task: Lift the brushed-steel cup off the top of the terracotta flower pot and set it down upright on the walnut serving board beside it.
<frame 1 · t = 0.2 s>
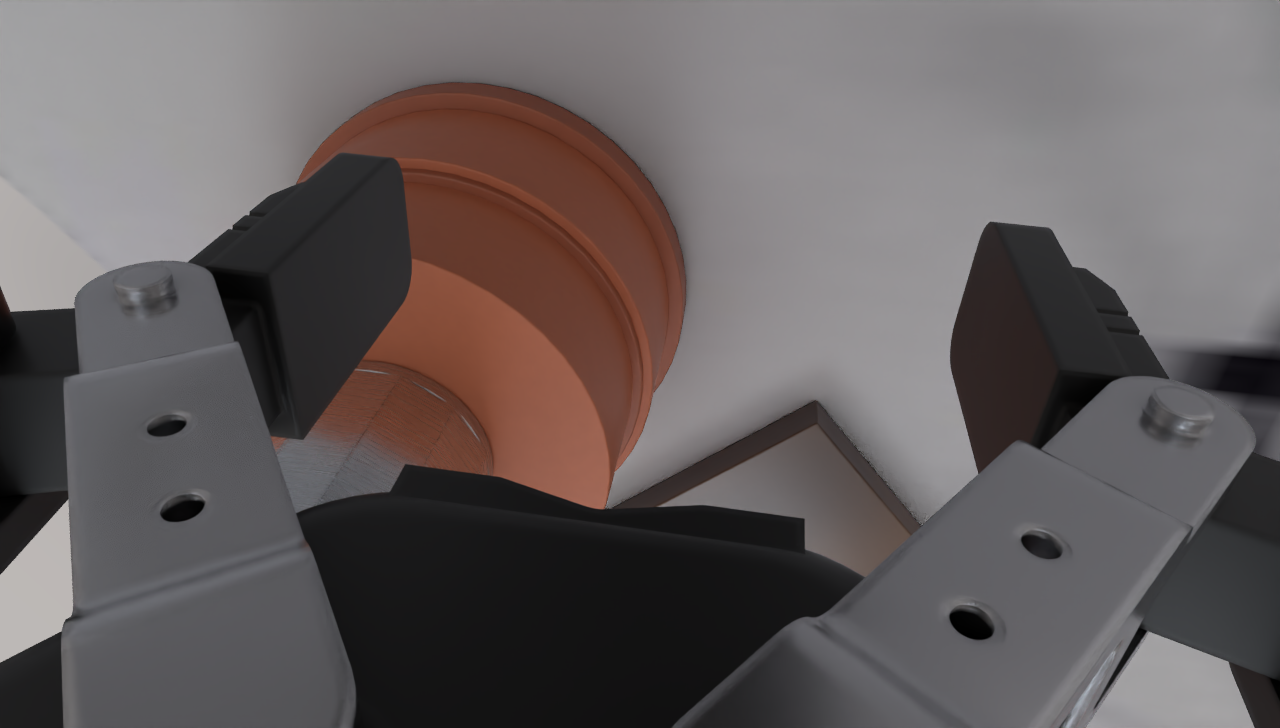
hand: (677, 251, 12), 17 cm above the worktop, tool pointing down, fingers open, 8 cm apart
board: (799, 618, 41), on the worktop
terracotta flower pot: (490, 280, 33), on the worktop
steel cup: (390, 448, 25), point 10 cm above the worktop, touching terracotta flower pot
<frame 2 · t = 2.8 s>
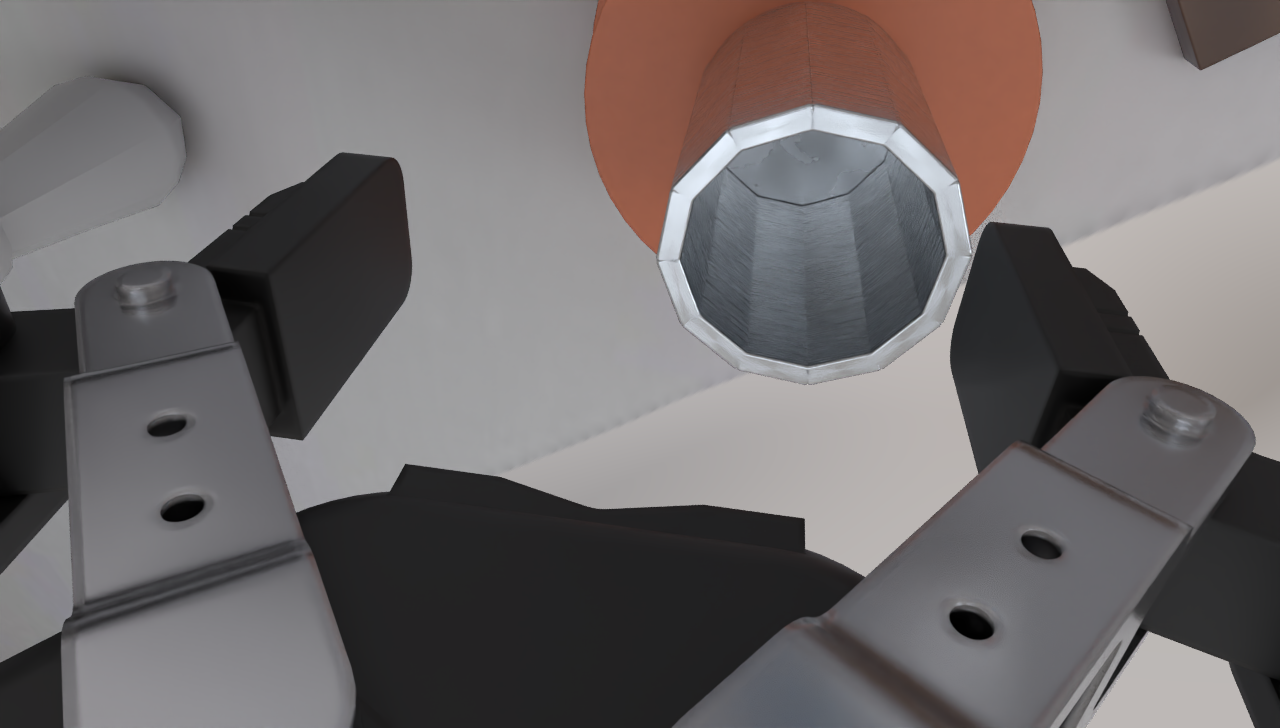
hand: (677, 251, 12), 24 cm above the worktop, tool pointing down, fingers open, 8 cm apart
terracotta flower pot: (799, 27, 33), on the worktop
steel cup: (803, 113, 25), point 10 cm above the worktop, touching terracotta flower pot
salt shaker: (145, 126, 40), on the worktop
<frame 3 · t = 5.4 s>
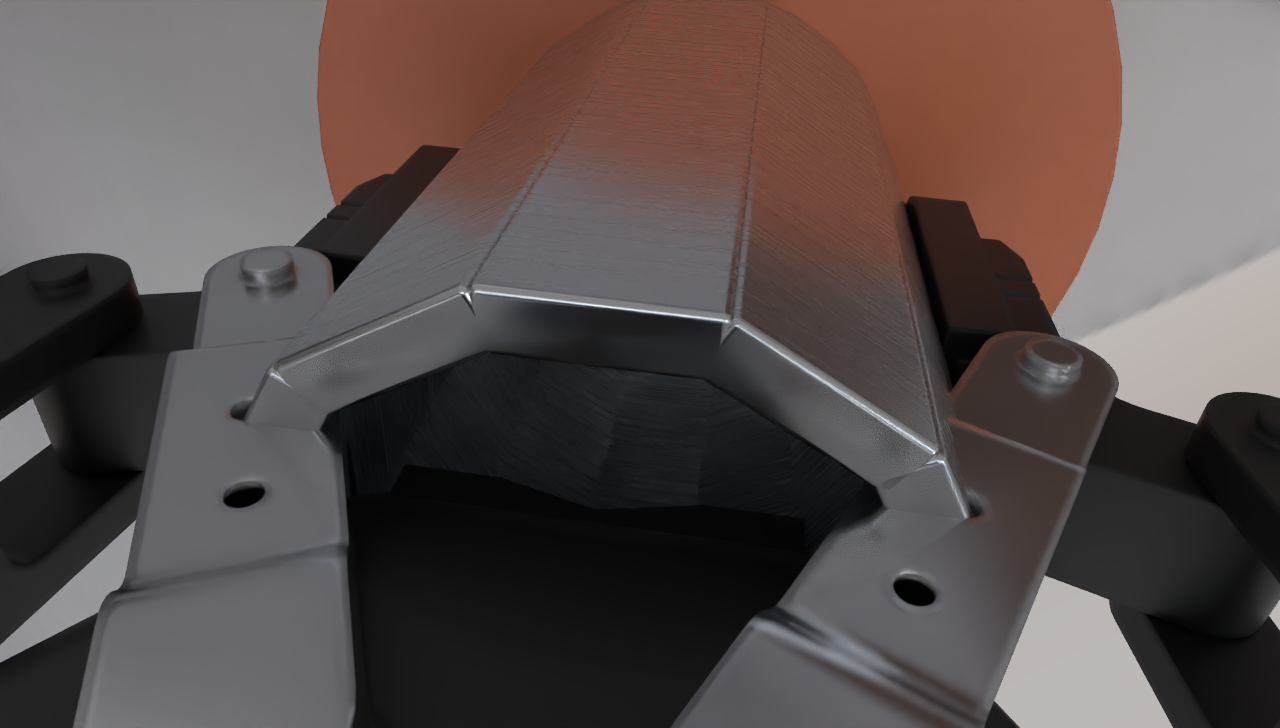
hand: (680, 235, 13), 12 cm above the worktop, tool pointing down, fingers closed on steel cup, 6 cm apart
terracotta flower pot: (730, 34, 22), on the worktop
steel cup: (694, 186, 14), point 10 cm above the worktop, touching terracotta flower pot, gripper
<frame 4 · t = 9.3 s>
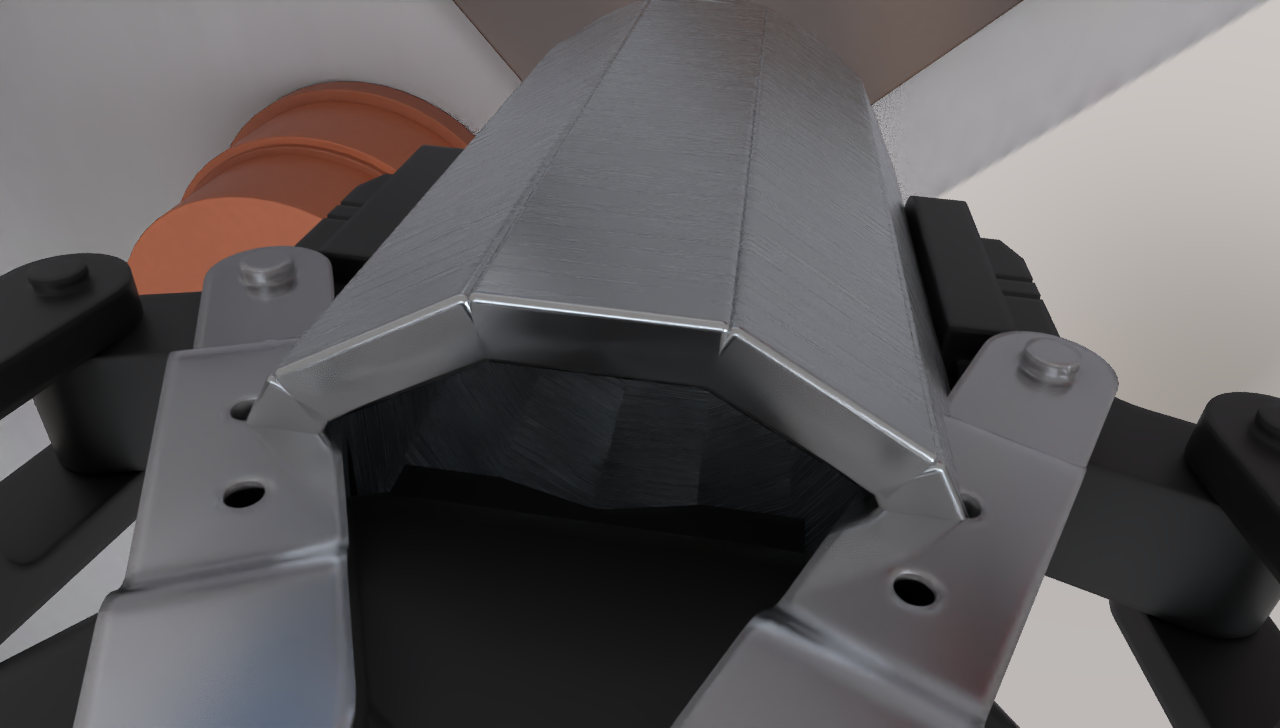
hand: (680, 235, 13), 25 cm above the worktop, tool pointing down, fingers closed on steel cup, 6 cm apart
terracotta flower pot: (380, 237, 42), on the worktop
steel cup: (693, 190, 14), point 23 cm above the worktop, touching gripper
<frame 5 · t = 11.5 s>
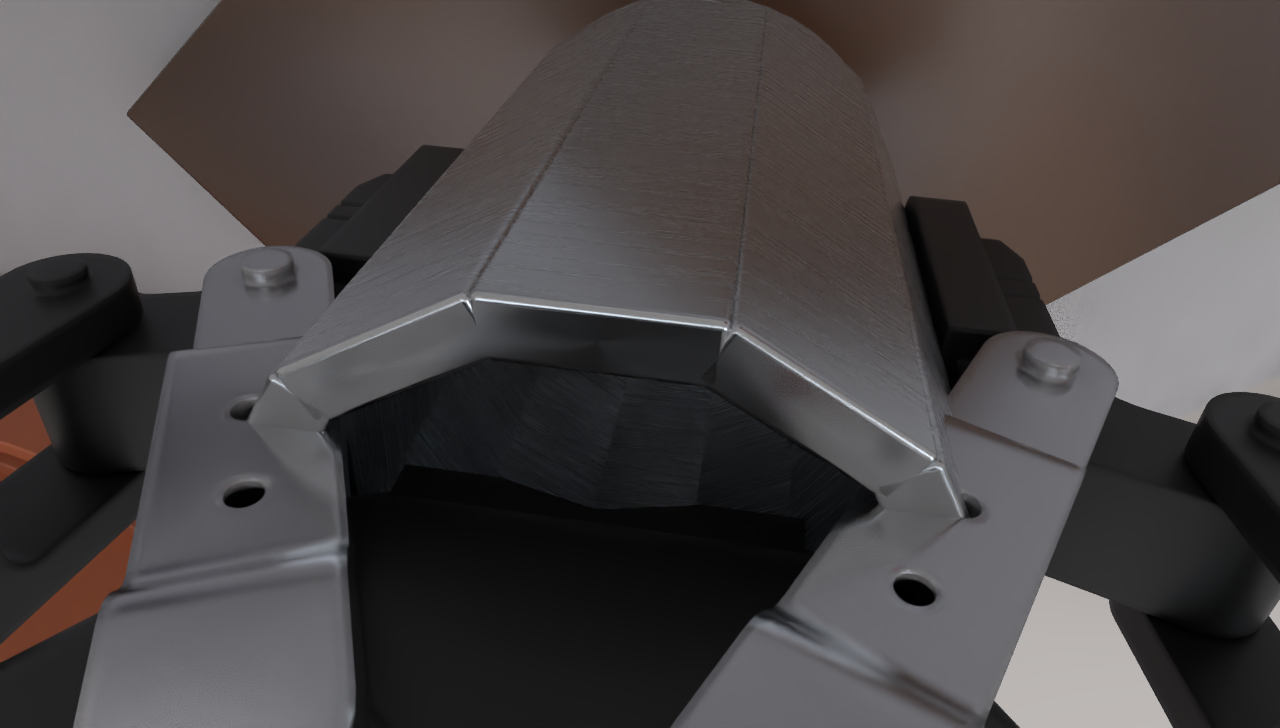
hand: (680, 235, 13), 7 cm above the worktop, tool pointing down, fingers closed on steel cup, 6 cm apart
board: (713, 89, 18), on the worktop
terracotta flower pot: (159, 489, 28), on the worktop
steel cup: (694, 189, 14), point 5 cm above the worktop, touching gripper
when the fingers open (3 cm above the worktop, at t = 13.1 s): steel cup stays where it is, resting on board.
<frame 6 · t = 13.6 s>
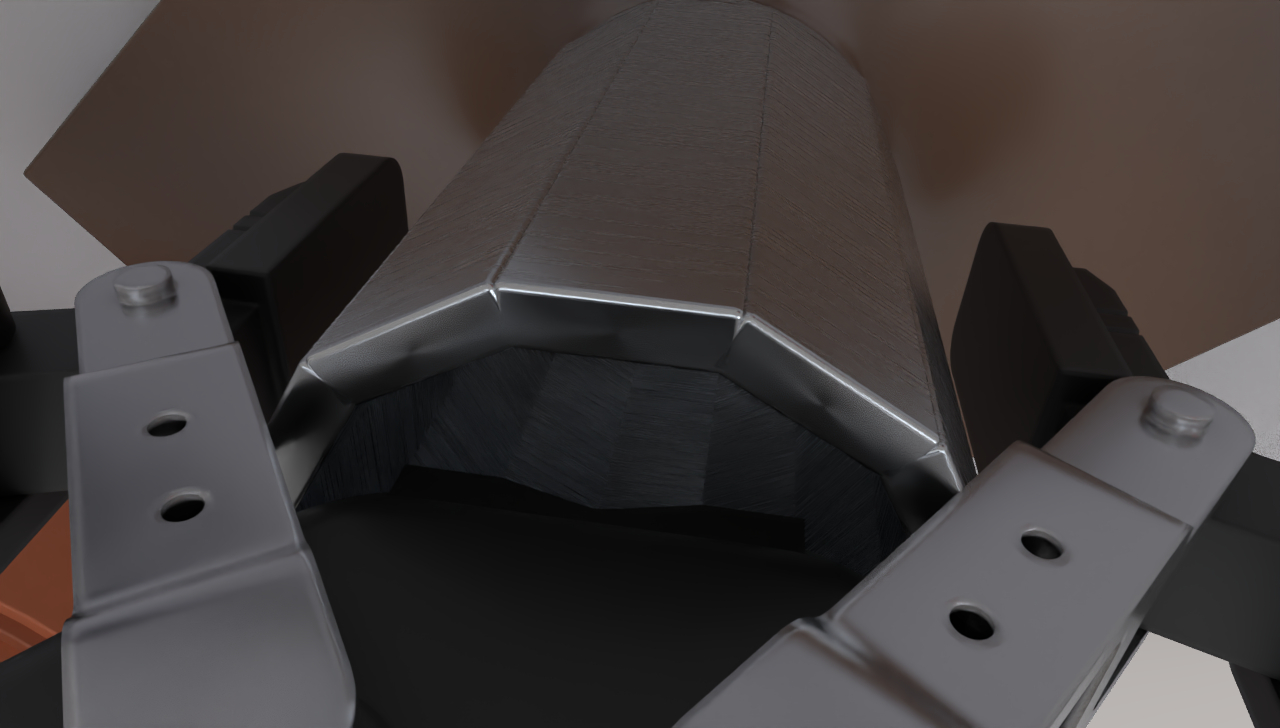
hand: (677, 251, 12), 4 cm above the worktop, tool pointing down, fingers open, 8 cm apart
board: (704, 149, 16), on the worktop
terracotta flower pot: (95, 568, 25), on the worktop
steel cup: (700, 187, 15), point 1 cm above the worktop, touching board
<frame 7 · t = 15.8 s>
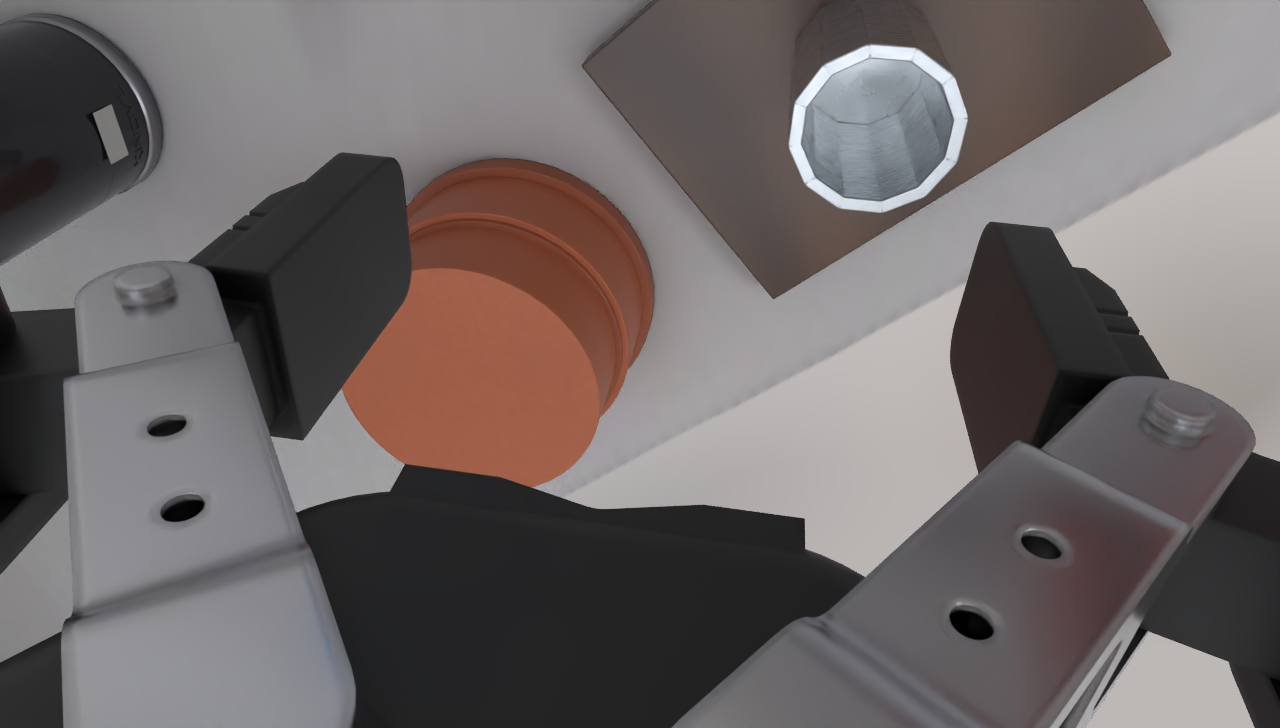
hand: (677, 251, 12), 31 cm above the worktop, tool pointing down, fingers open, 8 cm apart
board: (859, 51, 40), on the worktop
terracotta flower pot: (522, 286, 49), on the worktop
steel cup: (862, 63, 39), point 1 cm above the worktop, touching board
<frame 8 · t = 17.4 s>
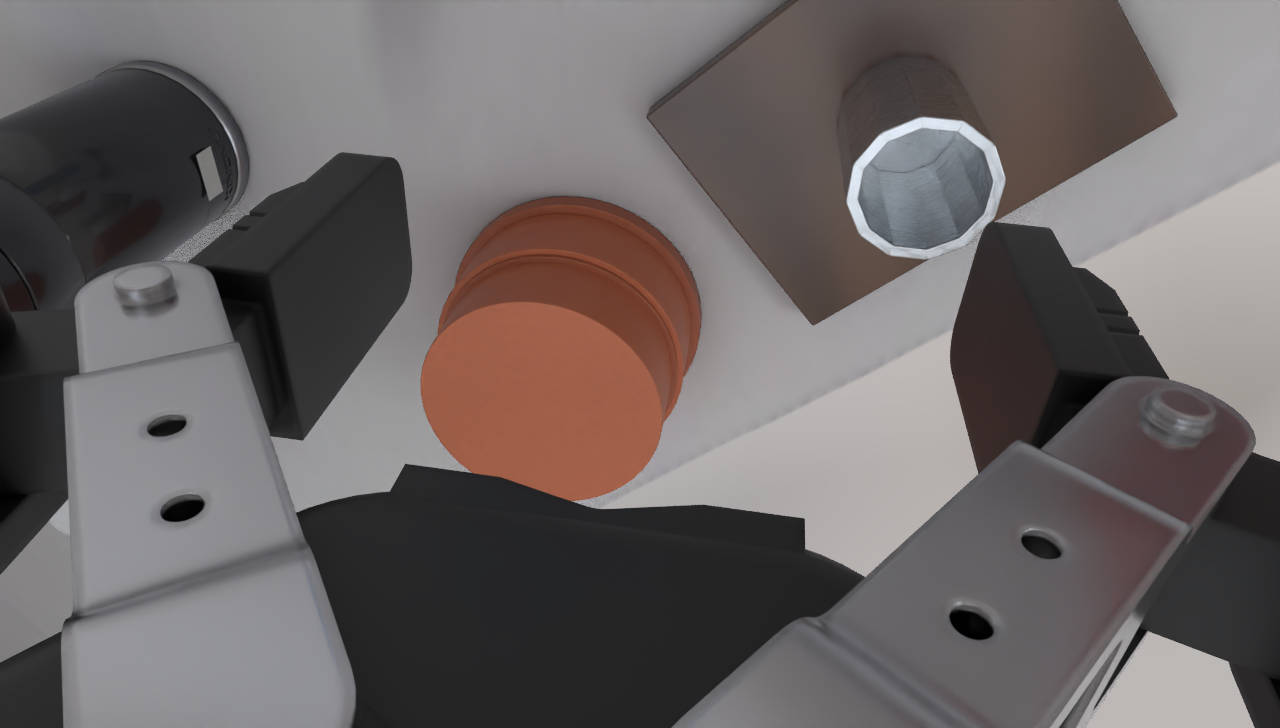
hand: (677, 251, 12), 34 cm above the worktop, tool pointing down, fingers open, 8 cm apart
board: (897, 107, 44), on the worktop
terracotta flower pot: (578, 310, 53), on the worktop
steel cup: (901, 118, 43), point 1 cm above the worktop, touching board
salt shaker: (196, 387, 62), on the worktop
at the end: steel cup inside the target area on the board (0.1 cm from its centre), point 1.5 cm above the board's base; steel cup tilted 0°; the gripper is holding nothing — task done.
